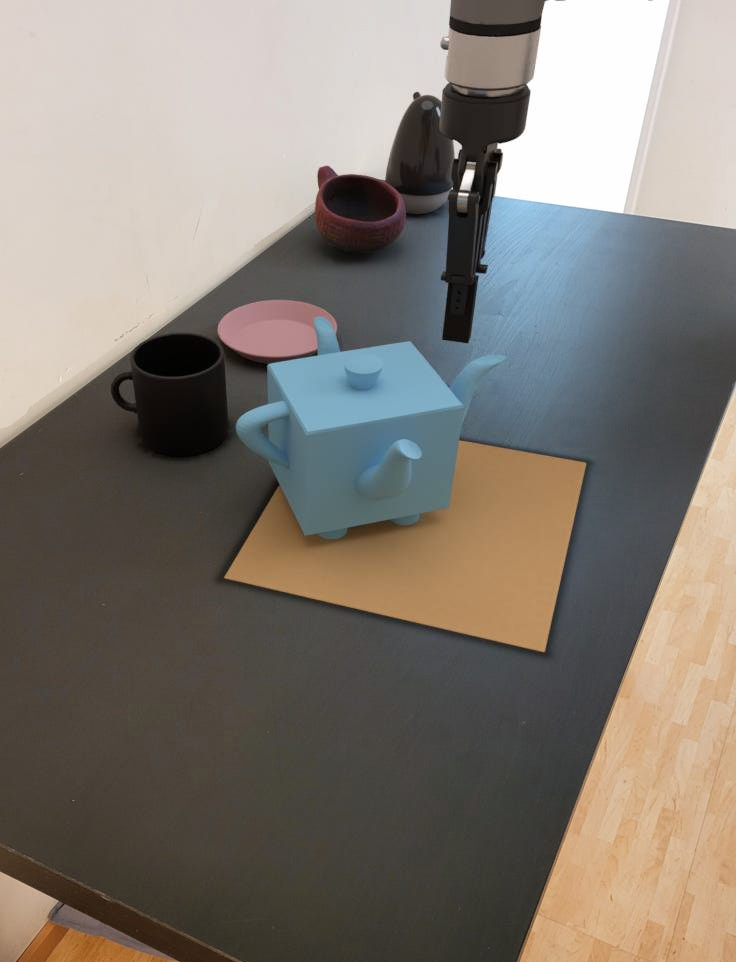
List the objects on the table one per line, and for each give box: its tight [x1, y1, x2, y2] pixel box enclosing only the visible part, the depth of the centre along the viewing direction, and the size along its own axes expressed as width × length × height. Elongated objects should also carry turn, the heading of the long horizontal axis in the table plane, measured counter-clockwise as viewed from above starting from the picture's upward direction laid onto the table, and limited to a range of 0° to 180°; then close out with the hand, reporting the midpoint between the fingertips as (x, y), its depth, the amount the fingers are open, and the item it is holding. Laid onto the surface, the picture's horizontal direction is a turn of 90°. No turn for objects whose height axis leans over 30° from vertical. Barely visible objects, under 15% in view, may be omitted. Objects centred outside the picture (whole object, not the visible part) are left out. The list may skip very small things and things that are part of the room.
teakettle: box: [235, 317, 507, 539], centre depth 85 cm, size 19×19×15 cm
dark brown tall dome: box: [384, 91, 456, 215], centre depth 136 cm, size 10×10×15 cm
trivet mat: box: [223, 439, 587, 654], centre depth 88 cm, size 28×28×1 cm
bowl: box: [314, 165, 407, 254], centre depth 130 cm, size 16×13×8 cm
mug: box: [110, 332, 229, 457], centre depth 97 cm, size 9×12×9 cm
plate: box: [217, 299, 338, 365], centre depth 112 cm, size 14×14×2 cm
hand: (456, 338), depth 97 cm, fingers closed
